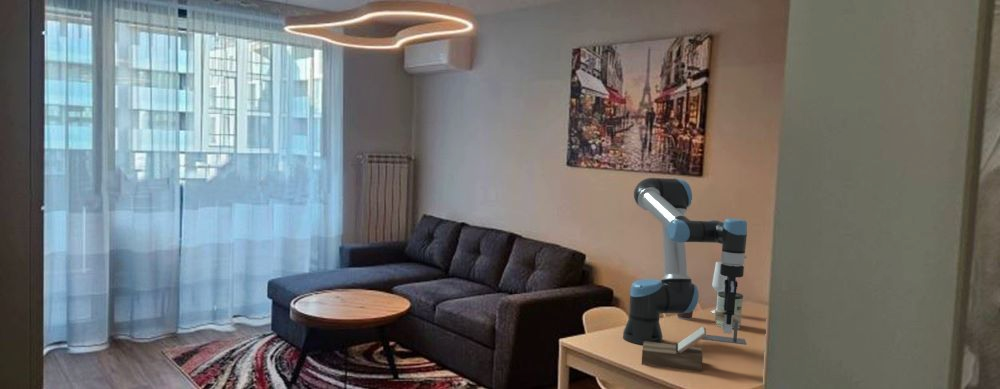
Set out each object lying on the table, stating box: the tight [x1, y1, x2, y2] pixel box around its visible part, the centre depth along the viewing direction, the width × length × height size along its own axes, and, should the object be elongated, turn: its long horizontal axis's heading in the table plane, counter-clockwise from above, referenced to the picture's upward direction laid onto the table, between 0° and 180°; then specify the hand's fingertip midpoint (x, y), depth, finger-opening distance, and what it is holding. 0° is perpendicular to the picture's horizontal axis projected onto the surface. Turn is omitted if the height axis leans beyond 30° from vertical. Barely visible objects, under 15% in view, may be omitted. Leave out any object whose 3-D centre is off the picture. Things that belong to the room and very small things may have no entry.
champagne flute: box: [710, 261, 727, 314], centre depth 315 cm, size 7×7×24 cm
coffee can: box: [715, 291, 744, 329], centre depth 292 cm, size 10×10×14 cm
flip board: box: [641, 341, 703, 373], centre depth 236 cm, size 12×20×6 cm, turn 76°
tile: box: [677, 325, 708, 353], centre depth 234 cm, size 9×11×1 cm
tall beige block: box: [701, 309, 747, 346], centre depth 231 cm, size 15×6×10 cm, turn 76°
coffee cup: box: [676, 310, 694, 321], centre depth 302 cm, size 9×9×12 cm
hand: (727, 331), depth 231 cm, fingers closed on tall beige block, 3 cm apart
